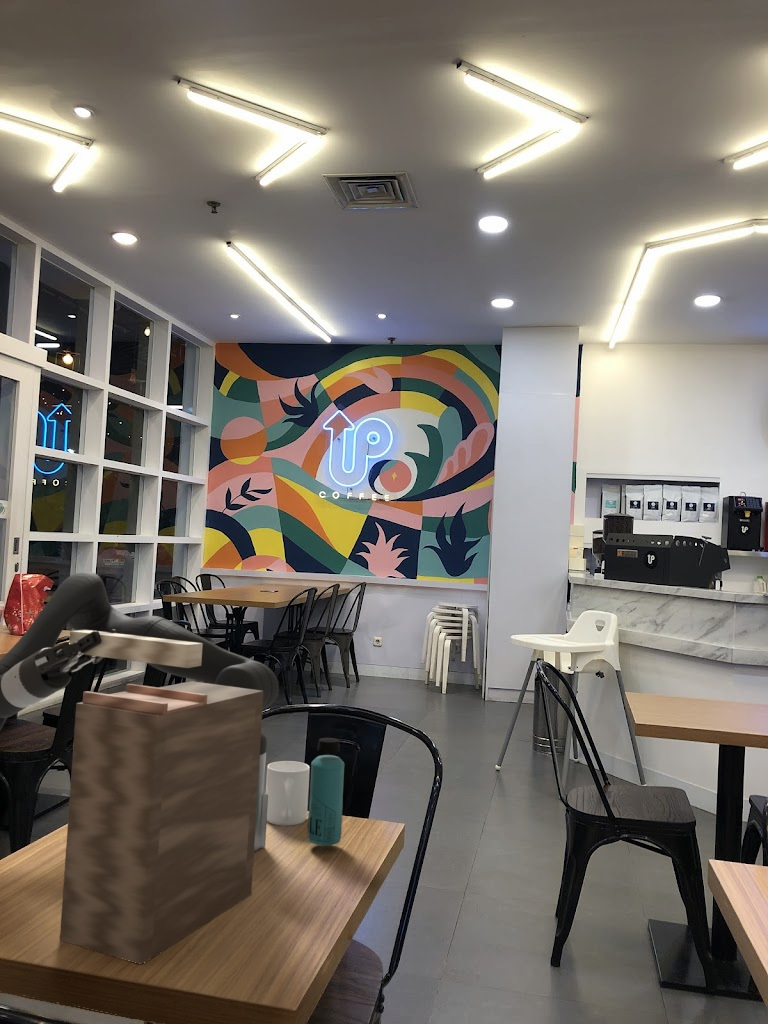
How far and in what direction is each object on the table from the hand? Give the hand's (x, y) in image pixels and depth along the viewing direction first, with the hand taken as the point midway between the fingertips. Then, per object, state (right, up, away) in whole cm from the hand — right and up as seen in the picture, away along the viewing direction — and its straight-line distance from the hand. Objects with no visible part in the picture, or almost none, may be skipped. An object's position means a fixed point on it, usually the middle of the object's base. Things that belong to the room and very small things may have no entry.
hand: (107, 635), depth 137 cm
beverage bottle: (+34, -42, +18) cm, 57 cm away
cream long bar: (+5, -3, -2) cm, 6 cm away
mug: (+25, -42, +31) cm, 59 cm away
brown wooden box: (+13, -39, -14) cm, 44 cm away
